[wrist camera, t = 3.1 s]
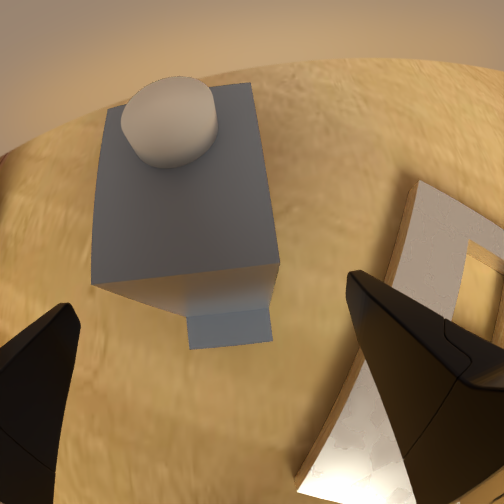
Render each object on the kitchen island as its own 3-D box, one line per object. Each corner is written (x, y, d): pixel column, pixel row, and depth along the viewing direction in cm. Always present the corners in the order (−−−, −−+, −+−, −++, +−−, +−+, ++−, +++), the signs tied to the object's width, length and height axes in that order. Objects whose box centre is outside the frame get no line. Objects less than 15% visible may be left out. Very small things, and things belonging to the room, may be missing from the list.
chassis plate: (460, 506, 14) (472, 514, 12) (293, 478, 16) (296, 491, 14) (538, 270, 19) (552, 265, 17) (408, 191, 21) (419, 179, 19)
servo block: (271, 340, 19) (297, 347, 5) (199, 348, 19) (72, 361, 5) (253, 204, 21) (242, 26, 8) (188, 213, 21) (106, 54, 8)
